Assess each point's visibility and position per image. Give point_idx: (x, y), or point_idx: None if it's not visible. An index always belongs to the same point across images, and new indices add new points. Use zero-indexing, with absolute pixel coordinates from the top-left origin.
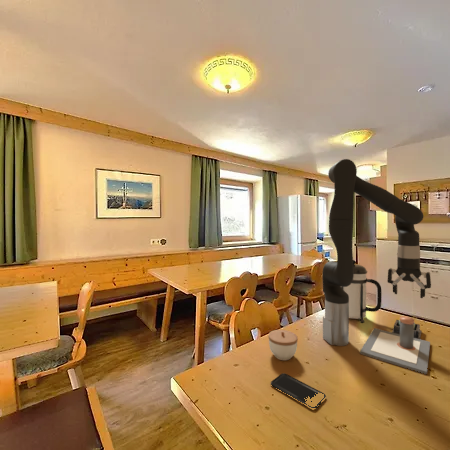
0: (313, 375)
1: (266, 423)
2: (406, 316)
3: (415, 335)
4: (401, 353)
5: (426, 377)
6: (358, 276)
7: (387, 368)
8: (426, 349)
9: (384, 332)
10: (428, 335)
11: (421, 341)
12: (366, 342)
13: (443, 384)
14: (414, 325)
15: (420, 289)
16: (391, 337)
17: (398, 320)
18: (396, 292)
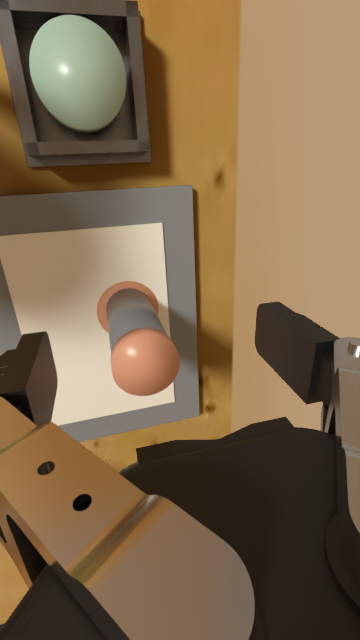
0: (3, 594)
1: None
2: (138, 338)
3: (133, 153)
4: None
5: (197, 421)
6: None
7: (116, 454)
8: (187, 277)
9: (10, 224)
10: (174, 59)
11: (164, 209)
12: None
13: (227, 420)
14: (124, 95)
15: (304, 400)
16: (59, 267)
17: (10, 7)
18: (55, 395)
